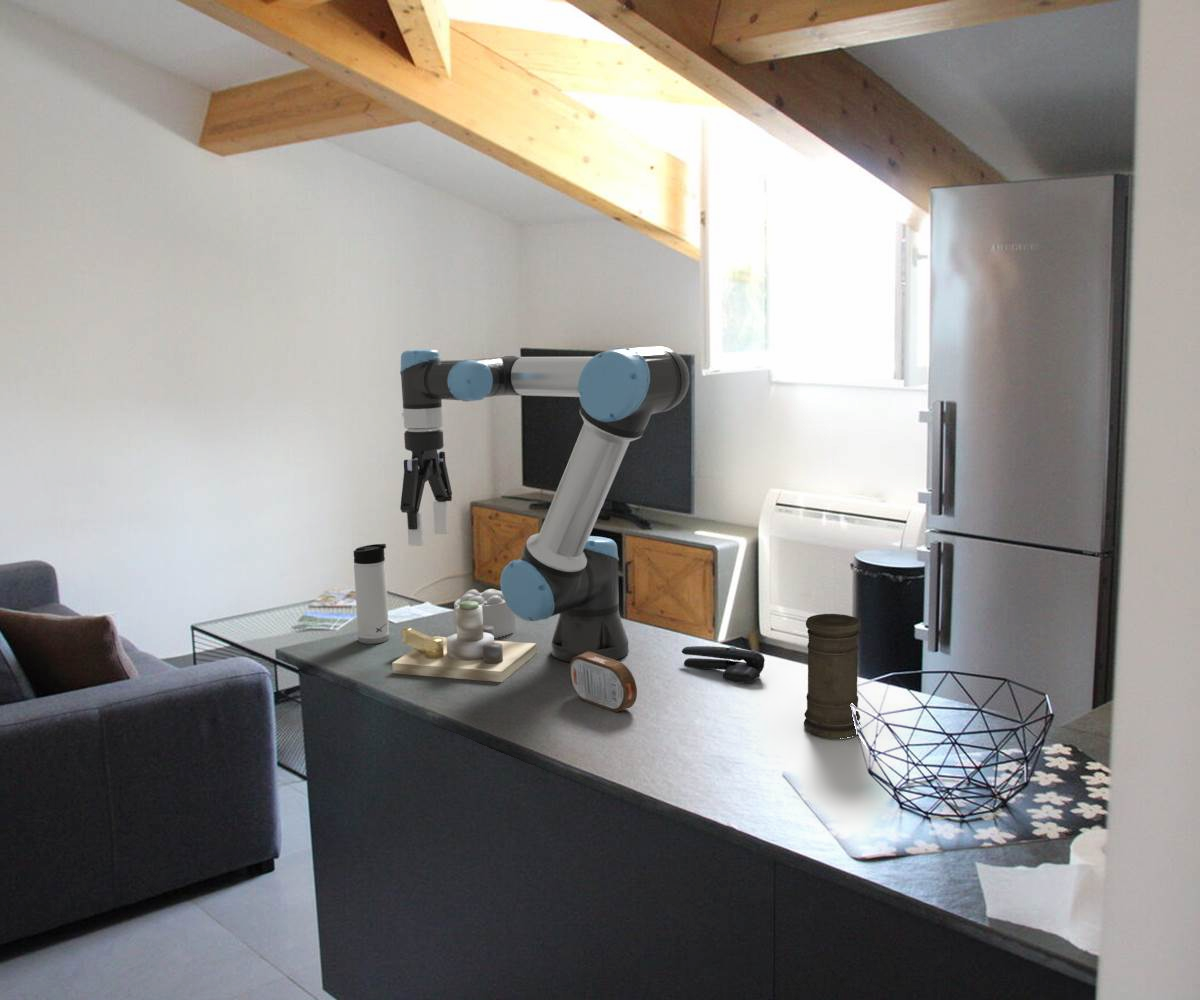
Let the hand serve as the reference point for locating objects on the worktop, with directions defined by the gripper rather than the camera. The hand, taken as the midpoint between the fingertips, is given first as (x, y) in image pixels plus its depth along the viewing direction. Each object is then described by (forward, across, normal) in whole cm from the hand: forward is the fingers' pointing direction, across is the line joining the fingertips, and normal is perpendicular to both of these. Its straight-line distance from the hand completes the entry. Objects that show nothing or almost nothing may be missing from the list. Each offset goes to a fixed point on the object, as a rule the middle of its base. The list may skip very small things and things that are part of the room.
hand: (429, 539), depth 231 cm
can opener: (+23, +3, +59) cm, 64 cm away
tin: (+22, +25, +43) cm, 55 cm away
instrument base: (+22, +9, +11) cm, 26 cm away
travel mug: (+22, -1, -14) cm, 26 cm away
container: (+23, +27, +82) cm, 89 cm away
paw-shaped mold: (+22, -11, +6) cm, 26 cm away
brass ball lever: (+20, +10, +2) cm, 22 cm away
